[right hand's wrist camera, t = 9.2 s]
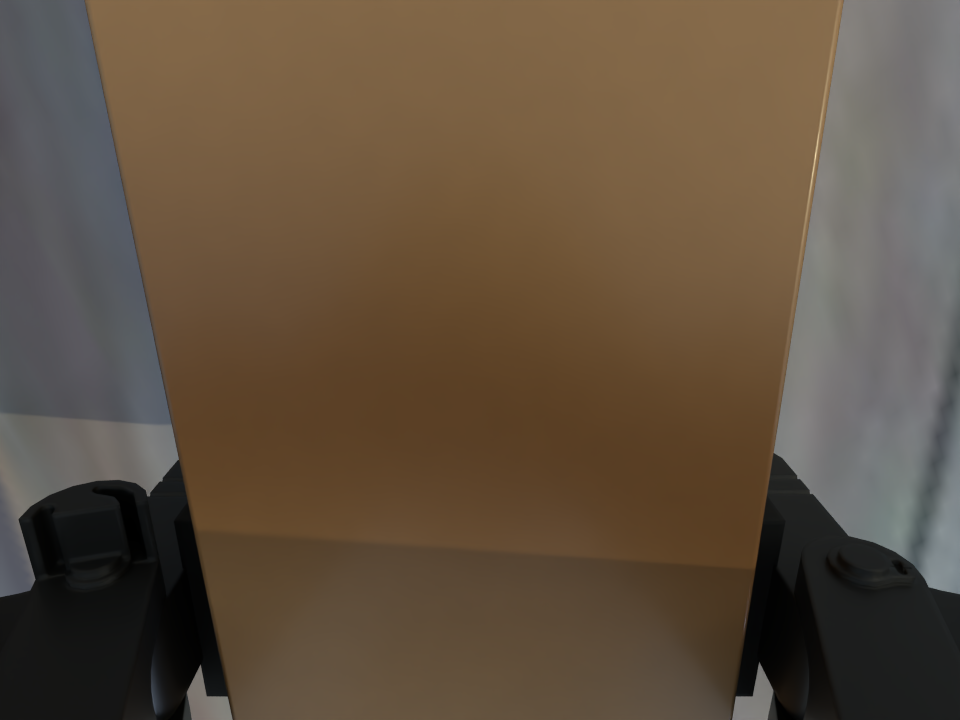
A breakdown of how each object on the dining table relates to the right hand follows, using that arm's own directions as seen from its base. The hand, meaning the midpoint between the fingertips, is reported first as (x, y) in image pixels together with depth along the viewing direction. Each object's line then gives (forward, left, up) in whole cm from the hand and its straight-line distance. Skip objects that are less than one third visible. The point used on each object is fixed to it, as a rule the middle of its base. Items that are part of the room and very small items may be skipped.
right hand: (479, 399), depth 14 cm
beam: (+15, +26, -1) cm, 30 cm away
